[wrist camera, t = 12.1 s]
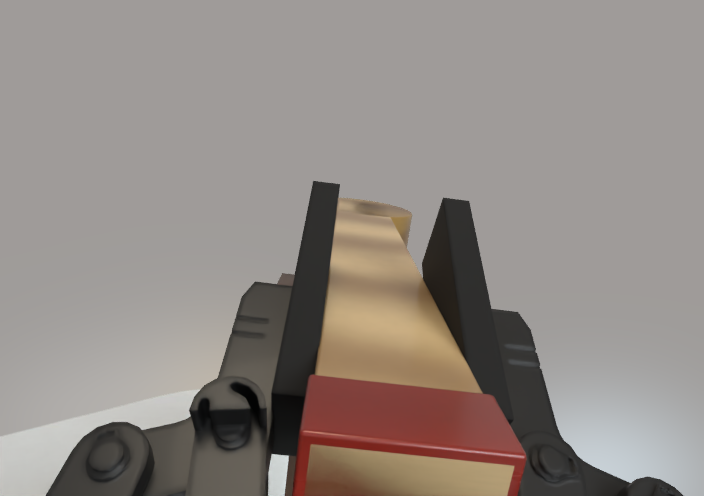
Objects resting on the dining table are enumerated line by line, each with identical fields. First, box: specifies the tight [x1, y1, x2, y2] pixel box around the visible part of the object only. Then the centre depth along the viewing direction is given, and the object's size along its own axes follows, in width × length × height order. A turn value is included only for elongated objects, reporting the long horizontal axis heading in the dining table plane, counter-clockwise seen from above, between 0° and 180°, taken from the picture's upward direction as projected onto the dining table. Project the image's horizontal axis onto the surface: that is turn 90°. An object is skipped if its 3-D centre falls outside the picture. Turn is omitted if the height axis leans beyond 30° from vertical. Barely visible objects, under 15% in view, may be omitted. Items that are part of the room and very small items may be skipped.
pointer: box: [292, 198, 527, 496], centre depth 19 cm, size 25×6×3 cm, turn 1°
